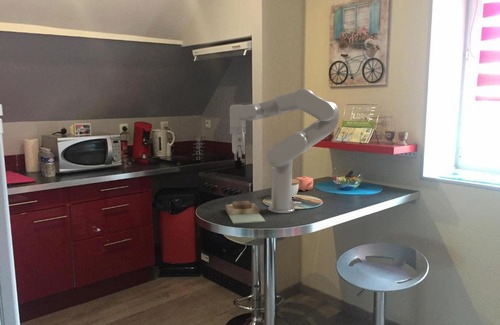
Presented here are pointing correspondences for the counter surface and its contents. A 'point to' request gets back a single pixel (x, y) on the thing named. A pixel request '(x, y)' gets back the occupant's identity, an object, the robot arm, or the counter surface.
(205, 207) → the counter surface
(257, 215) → the sage mat
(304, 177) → the pink cube teapot
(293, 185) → the lidded bowl
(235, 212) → the birch board
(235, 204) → the walnut block
